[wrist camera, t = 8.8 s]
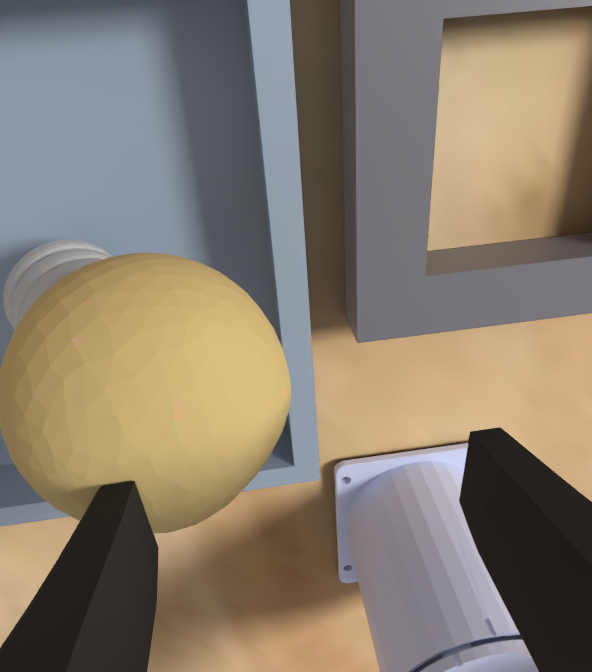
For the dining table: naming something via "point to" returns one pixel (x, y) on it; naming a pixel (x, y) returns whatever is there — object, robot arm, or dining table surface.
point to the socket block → (428, 190)
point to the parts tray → (160, 167)
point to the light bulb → (138, 381)
